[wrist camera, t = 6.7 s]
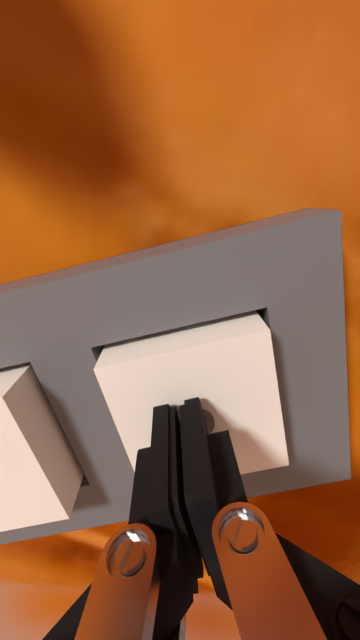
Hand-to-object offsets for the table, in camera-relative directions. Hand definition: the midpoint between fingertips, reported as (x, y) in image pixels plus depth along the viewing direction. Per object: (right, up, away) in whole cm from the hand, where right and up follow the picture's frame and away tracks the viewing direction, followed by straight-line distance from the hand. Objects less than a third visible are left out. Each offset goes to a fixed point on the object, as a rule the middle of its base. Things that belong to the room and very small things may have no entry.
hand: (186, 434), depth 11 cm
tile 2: (-8, -1, +3) cm, 9 cm away
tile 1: (0, +1, +2) cm, 3 cm away
